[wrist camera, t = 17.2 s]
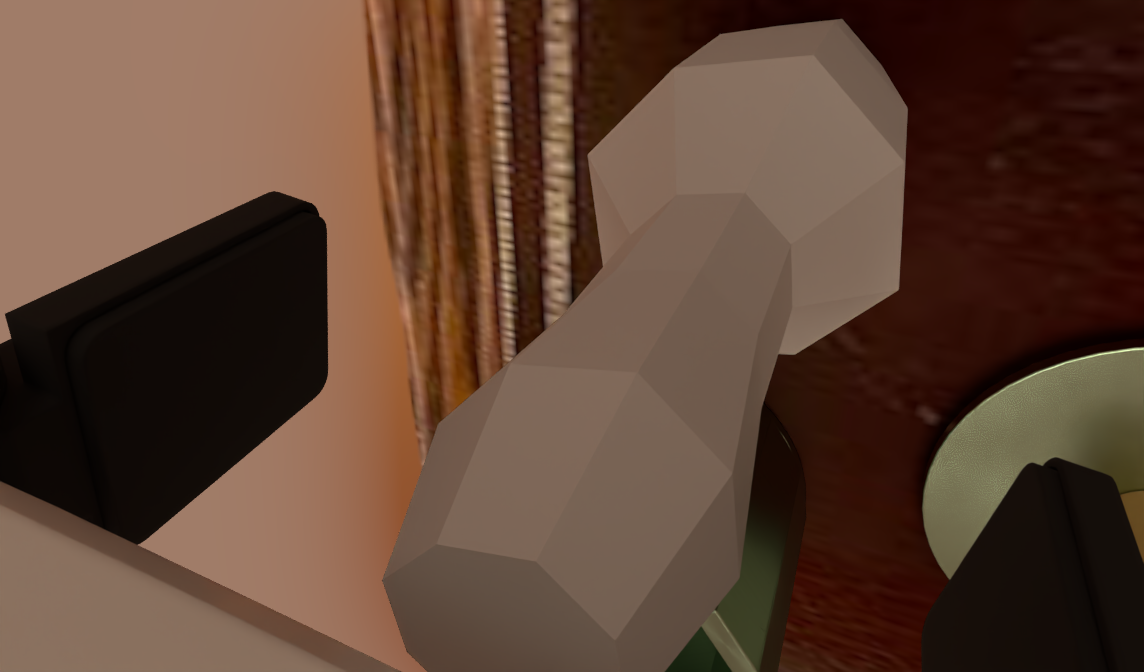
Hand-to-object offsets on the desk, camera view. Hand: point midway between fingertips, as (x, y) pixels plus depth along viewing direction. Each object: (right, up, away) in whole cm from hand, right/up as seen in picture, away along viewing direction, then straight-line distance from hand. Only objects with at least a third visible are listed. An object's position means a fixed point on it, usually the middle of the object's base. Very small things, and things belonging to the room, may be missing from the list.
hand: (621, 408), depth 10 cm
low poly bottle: (+7, +9, +15) cm, 18 cm away
